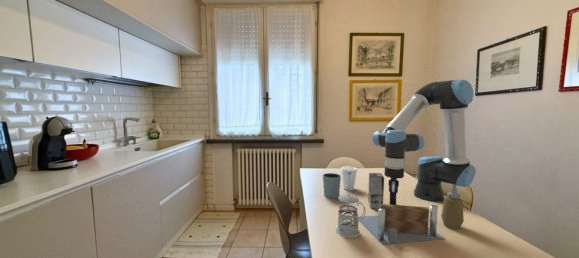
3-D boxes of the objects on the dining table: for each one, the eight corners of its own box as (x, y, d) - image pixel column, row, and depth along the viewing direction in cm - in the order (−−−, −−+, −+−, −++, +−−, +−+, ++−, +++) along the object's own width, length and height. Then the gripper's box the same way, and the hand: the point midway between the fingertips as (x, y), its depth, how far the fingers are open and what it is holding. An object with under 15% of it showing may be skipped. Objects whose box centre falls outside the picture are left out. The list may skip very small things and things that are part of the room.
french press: (333, 225, 105) (334, 167, 103) (361, 226, 105) (362, 168, 103) (337, 237, 95) (338, 174, 93) (367, 238, 95) (369, 174, 93)
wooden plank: (426, 232, 98) (428, 207, 97) (428, 234, 96) (429, 209, 95) (379, 227, 101) (379, 203, 101) (379, 229, 100) (380, 205, 99)
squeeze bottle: (436, 223, 107) (438, 183, 106) (448, 220, 110) (450, 181, 109) (455, 232, 100) (457, 189, 98) (467, 228, 103) (470, 186, 101)
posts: (433, 233, 98) (434, 204, 97) (440, 238, 94) (442, 208, 94) (376, 238, 94) (377, 208, 93) (381, 243, 91) (382, 212, 90)
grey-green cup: (344, 196, 140) (344, 176, 139) (331, 200, 134) (331, 178, 133) (331, 191, 148) (331, 172, 147) (318, 194, 142) (319, 174, 142)
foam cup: (357, 191, 150) (358, 170, 148) (342, 190, 150) (343, 169, 149) (354, 186, 159) (354, 166, 158) (339, 186, 159) (340, 166, 158)
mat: (407, 213, 117) (407, 213, 117) (445, 239, 94) (445, 238, 94) (355, 217, 113) (356, 216, 113) (382, 244, 90) (382, 243, 90)
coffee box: (383, 209, 122) (384, 177, 121) (369, 208, 123) (370, 176, 122) (380, 202, 131) (381, 173, 130) (367, 201, 132) (368, 172, 131)
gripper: (385, 163, 110) (383, 214, 112) (383, 169, 98) (381, 226, 100) (403, 164, 107) (401, 217, 109) (404, 171, 95) (401, 230, 97)
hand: (392, 221), depth 104 cm, fingers closed
